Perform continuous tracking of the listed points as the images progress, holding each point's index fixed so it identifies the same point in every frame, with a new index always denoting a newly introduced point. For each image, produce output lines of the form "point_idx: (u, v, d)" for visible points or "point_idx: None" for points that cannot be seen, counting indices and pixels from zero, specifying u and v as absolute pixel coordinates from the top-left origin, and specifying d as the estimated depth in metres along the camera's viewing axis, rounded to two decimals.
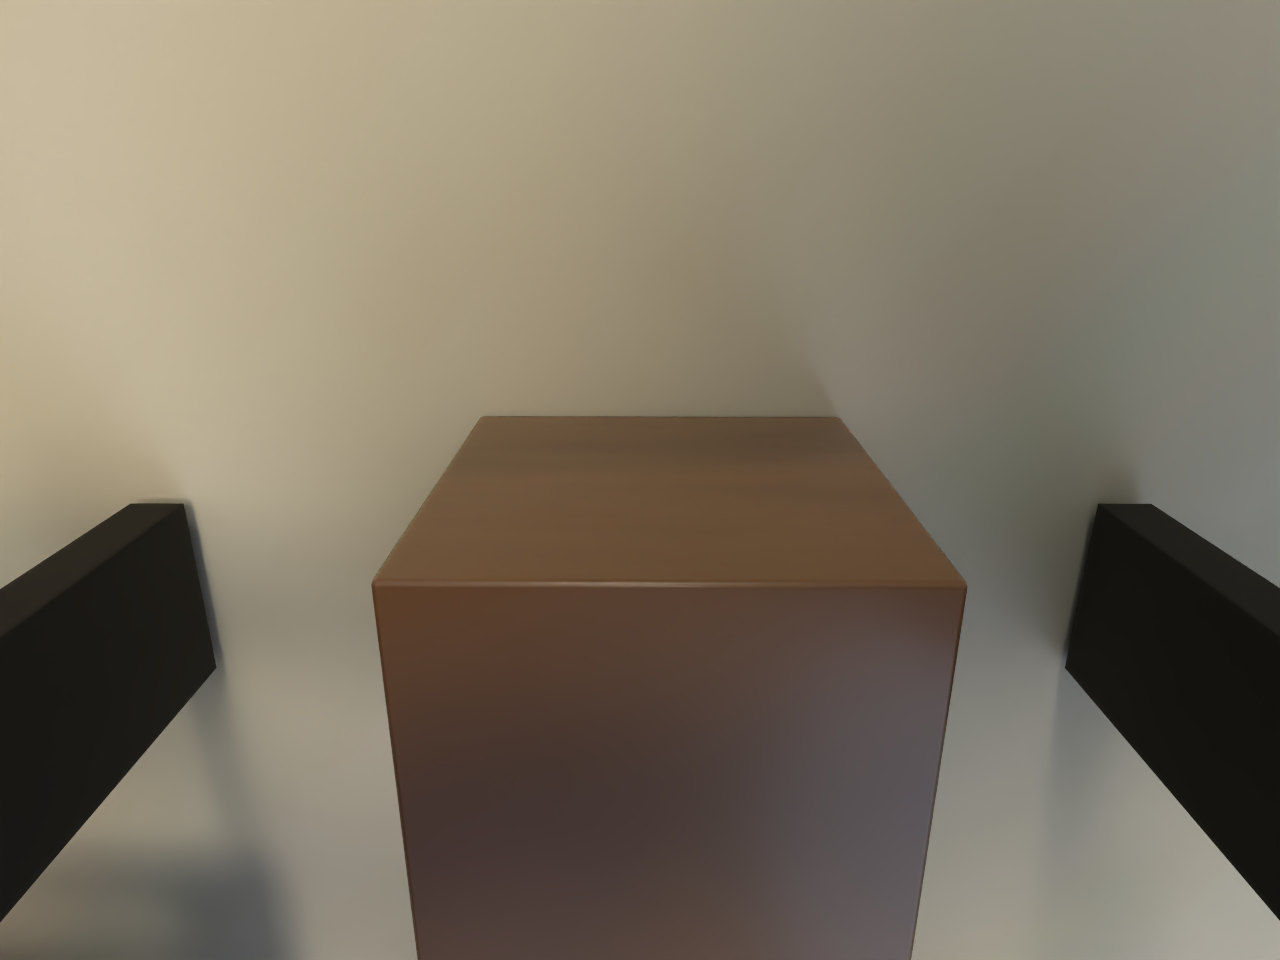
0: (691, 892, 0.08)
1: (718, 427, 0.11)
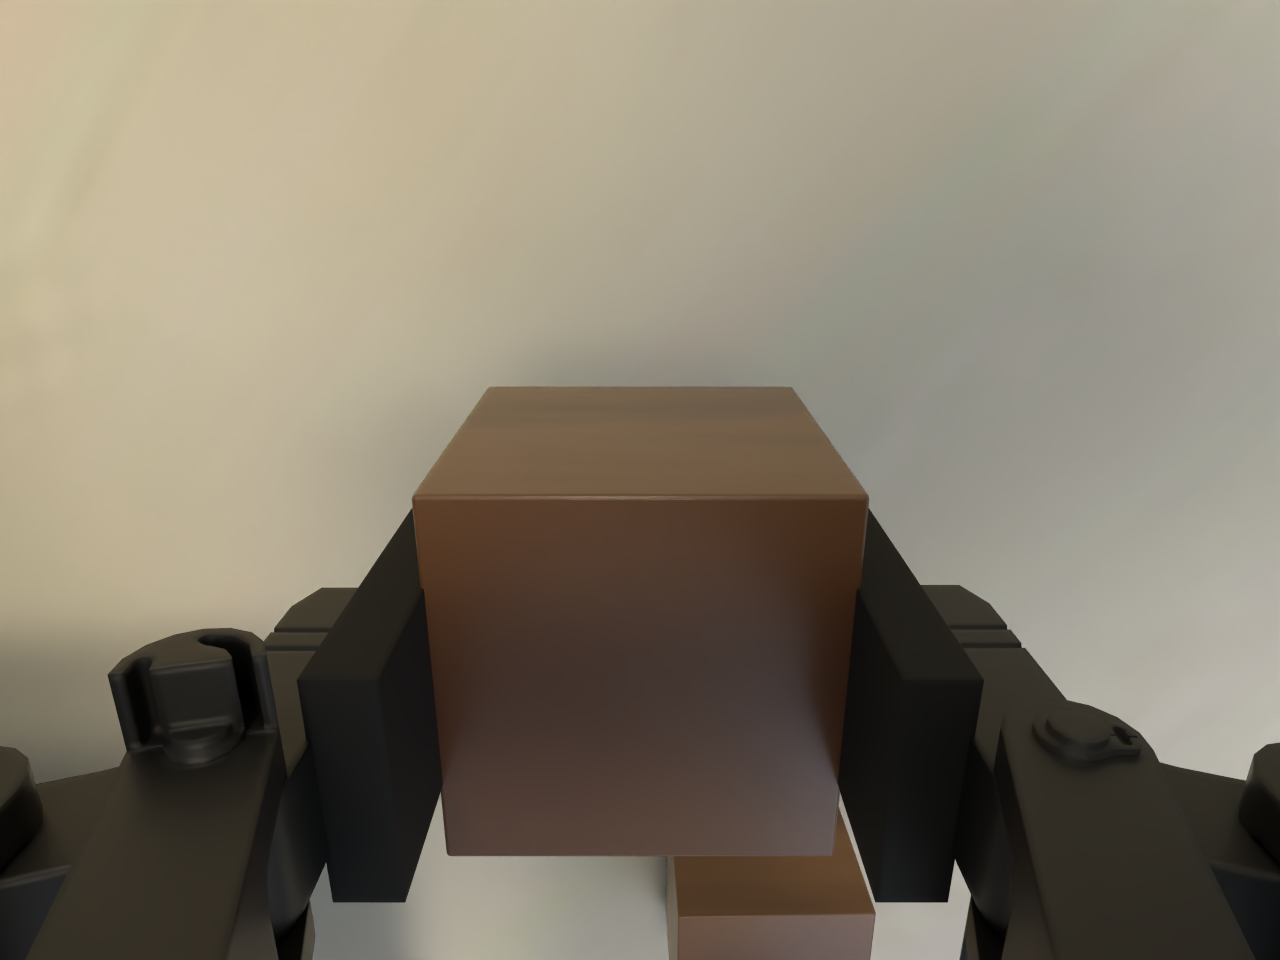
0: (662, 752, 0.10)
1: (689, 394, 0.13)
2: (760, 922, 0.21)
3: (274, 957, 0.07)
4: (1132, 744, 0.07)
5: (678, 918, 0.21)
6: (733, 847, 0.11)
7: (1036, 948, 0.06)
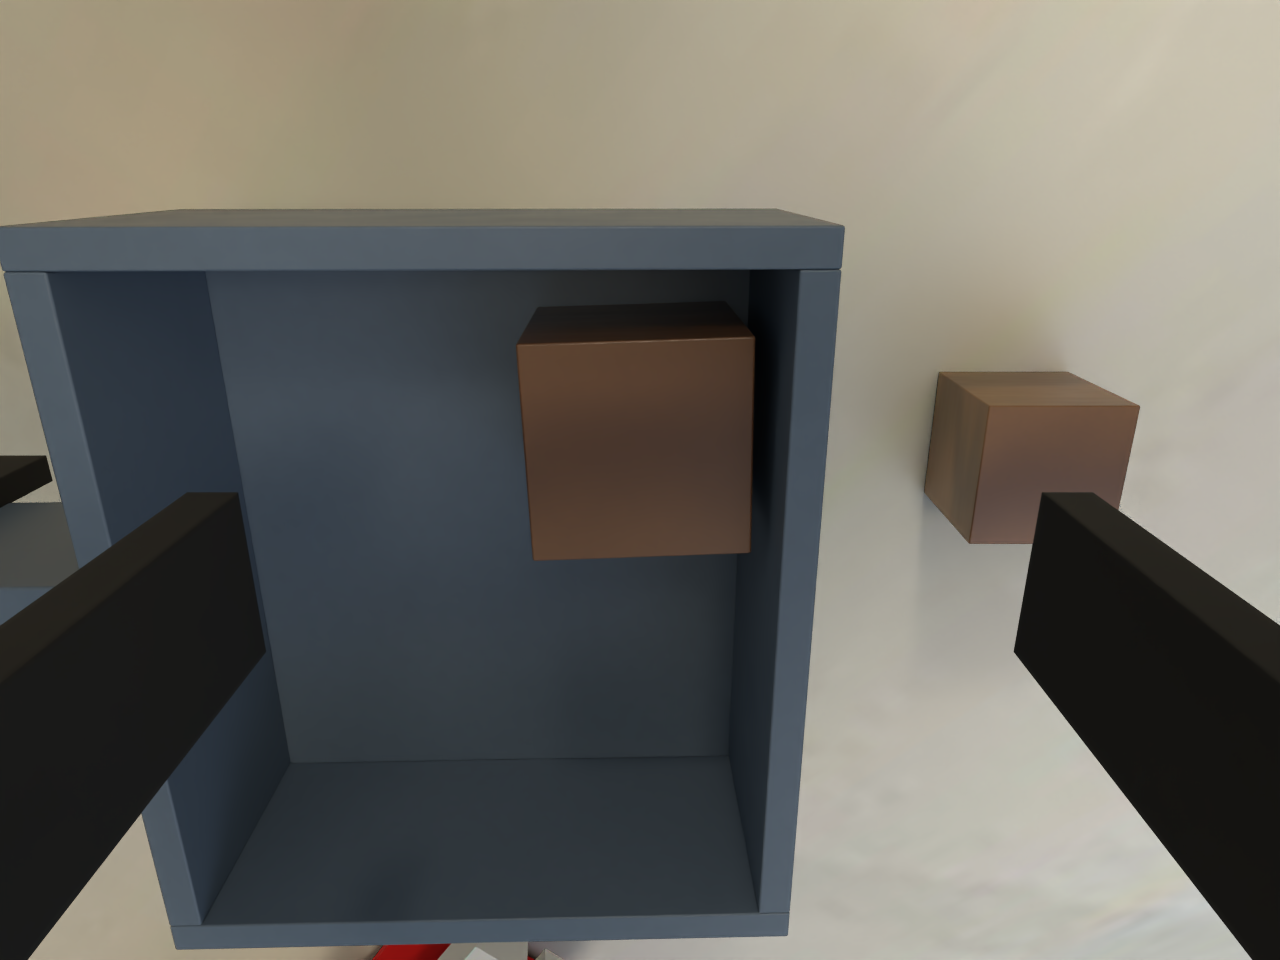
0: (652, 489, 0.19)
1: (662, 306, 0.22)
2: (1051, 412, 0.28)
3: None
4: None
5: (988, 408, 0.28)
6: (694, 549, 0.19)
7: None
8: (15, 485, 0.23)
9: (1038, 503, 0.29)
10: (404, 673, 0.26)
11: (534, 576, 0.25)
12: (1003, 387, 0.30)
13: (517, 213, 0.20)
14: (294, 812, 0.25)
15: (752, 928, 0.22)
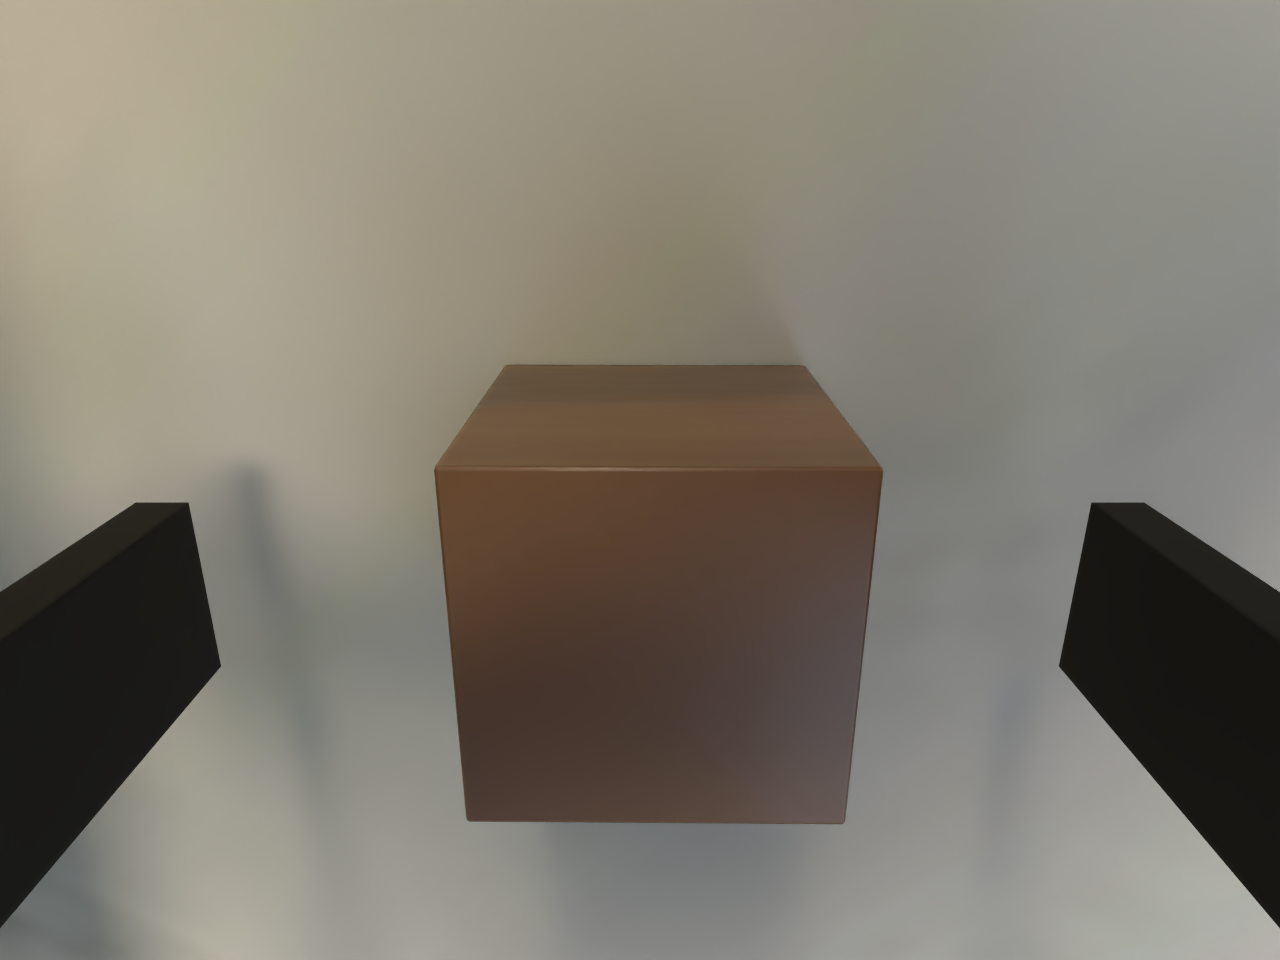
0: None
1: None
2: (621, 488, 0.09)
3: None
4: None
5: (436, 475, 0.09)
6: None
7: None
8: None
9: (632, 727, 0.11)
10: None
11: None
12: (581, 405, 0.12)
13: None
14: None
15: None
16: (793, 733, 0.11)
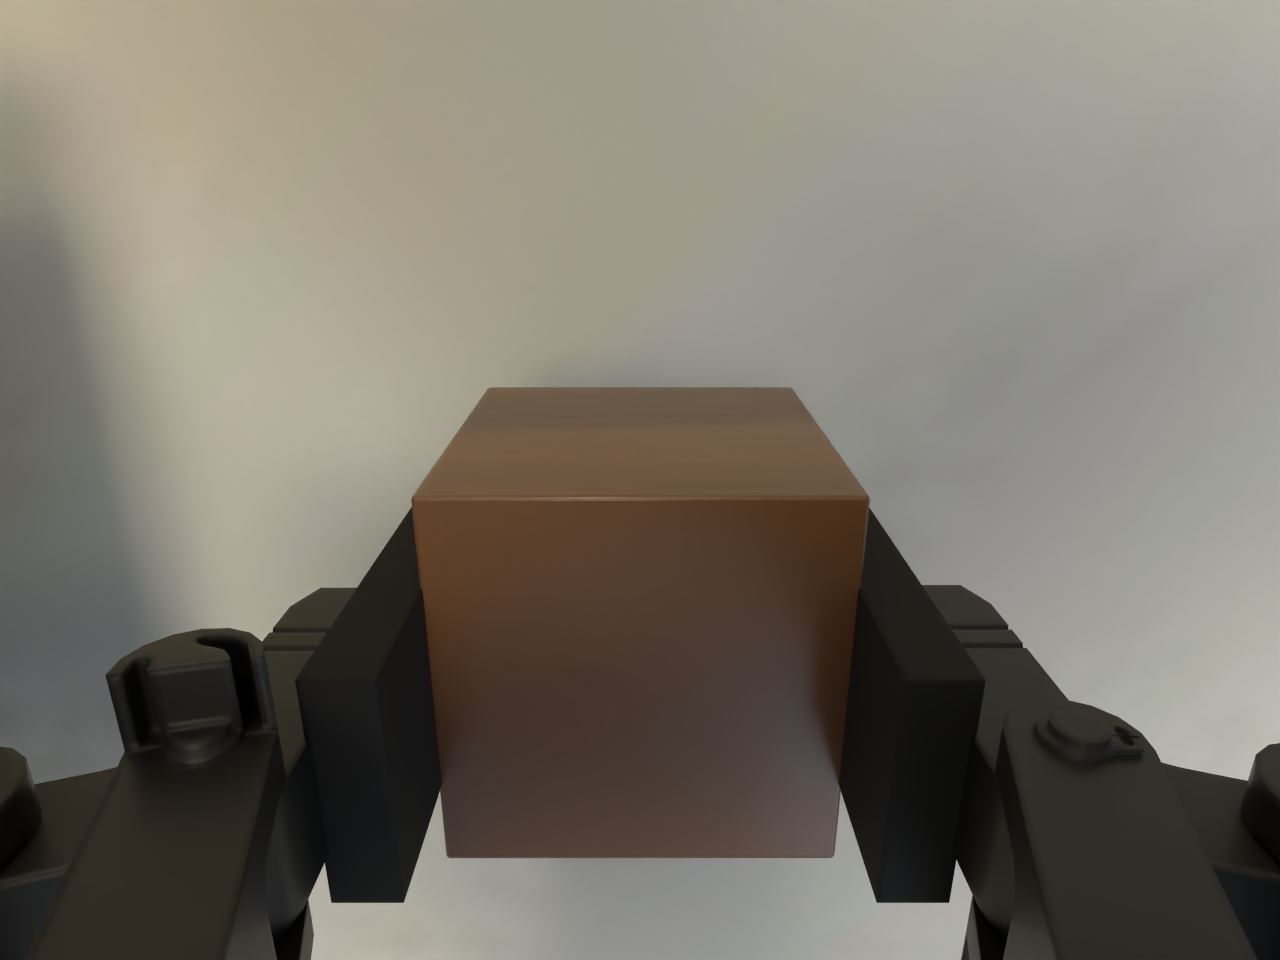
0: None
1: None
2: (603, 517, 0.09)
3: (272, 957, 0.07)
4: (1132, 744, 0.07)
5: (413, 505, 0.09)
6: None
7: (1038, 948, 0.06)
8: None
9: (615, 760, 0.10)
10: None
11: None
12: (564, 430, 0.11)
13: None
14: None
15: None
16: (780, 767, 0.10)
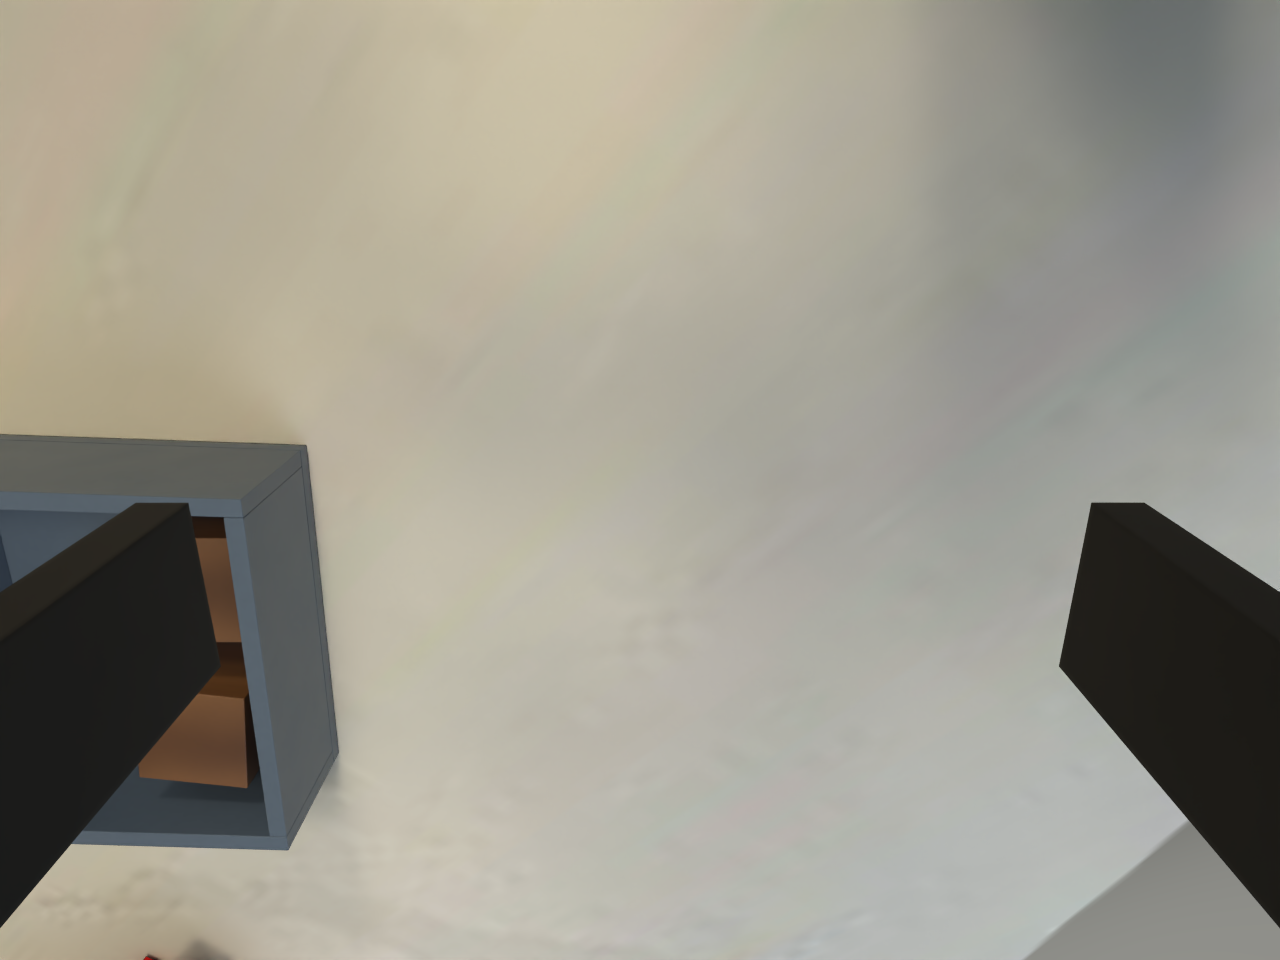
0: None
1: None
2: None
3: None
4: None
5: None
6: (218, 639, 0.37)
7: None
8: None
9: (185, 755, 0.39)
10: None
11: None
12: None
13: (137, 456, 0.37)
14: None
15: (267, 844, 0.39)
16: (229, 761, 0.39)
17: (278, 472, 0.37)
